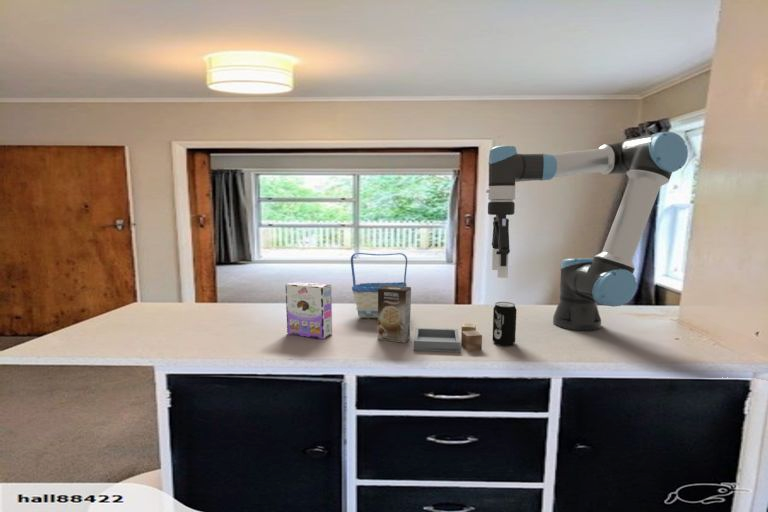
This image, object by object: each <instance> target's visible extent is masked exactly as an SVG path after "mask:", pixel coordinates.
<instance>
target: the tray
mask: <svg viewBox="0 0 768 512" xmlns="http://www.w3.org/2000/svg"><path fill="white" fill-rule="evenodd" d="M459 334H460V333H459V329H457V328H437V327H435V328H431V327H430V328H429V327H415V328H414V337H413V351H417V352H418V351H423V352H449V353H461V339H460V335H459Z"/></svg>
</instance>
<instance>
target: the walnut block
mask: <svg viewBox="0 0 768 512" xmlns="http://www.w3.org/2000/svg"><path fill="white" fill-rule="evenodd" d="M461 333H462V339H461V340H460V347H462V348H463V349H464V350H465V351H466V352H472V351H473V352H474V351H483V349H482V347H483V334H481V333H480V332H479V331H478V330H476V331H462V330H461Z"/></svg>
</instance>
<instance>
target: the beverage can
mask: <svg viewBox="0 0 768 512" xmlns="http://www.w3.org/2000/svg"><path fill="white" fill-rule="evenodd" d="M494 304H495V305H494V306H493V315H492V316H493V317H492V318H493V319H492V341H493V343H494V344H495V345H496V346H497V345H498V346H501V347H511V346H513V345H514V344H516V343H515V342H516V331H517V308H516V304H515V303H514V302H511V301H496V302H495V303H494Z"/></svg>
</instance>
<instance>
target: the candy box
mask: <svg viewBox="0 0 768 512" xmlns="http://www.w3.org/2000/svg"><path fill="white" fill-rule="evenodd" d="M332 301H333V300H332V284H331V283H316V282H308V281H307V282H306V281H296V280H295V281H292V282H288V283H285V305H286V306H285V307H286V309H285V311H286V333H288V334H287V335H290V334H294V335H293V336H297V335H300V336H299V337H304V336H306V337H307V338H311V337H312V338H313V339H319V340H320V339H321V340H323V339H326V338H328V337H330V336H332V335H333V311H332V310H333V307H332V306H333V303H332ZM306 337H305V338H306Z"/></svg>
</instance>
